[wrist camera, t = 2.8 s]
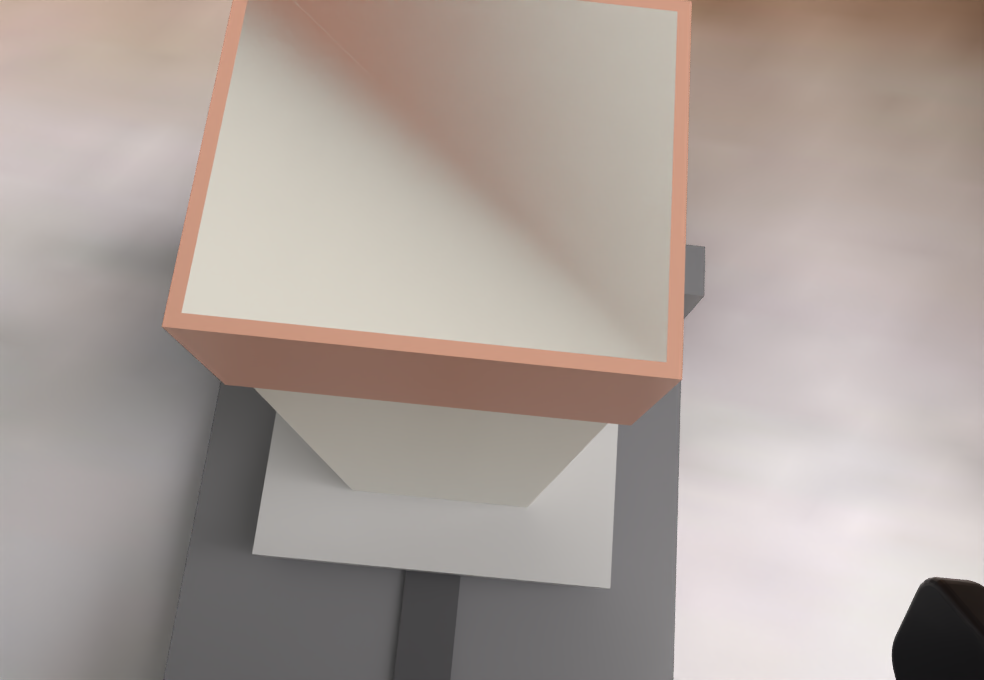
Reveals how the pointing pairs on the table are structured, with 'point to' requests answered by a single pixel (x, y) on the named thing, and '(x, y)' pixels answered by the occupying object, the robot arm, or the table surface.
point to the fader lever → (443, 269)
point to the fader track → (425, 581)
